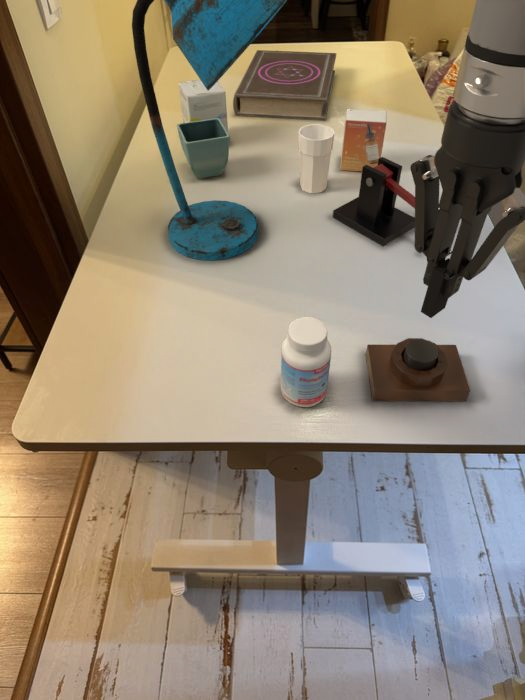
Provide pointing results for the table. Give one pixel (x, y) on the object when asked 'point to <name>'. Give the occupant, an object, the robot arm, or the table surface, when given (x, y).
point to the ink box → (202, 102)
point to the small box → (362, 139)
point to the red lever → (397, 186)
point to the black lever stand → (376, 206)
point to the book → (286, 85)
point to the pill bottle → (305, 362)
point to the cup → (315, 156)
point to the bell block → (415, 375)
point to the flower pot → (205, 146)
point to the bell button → (420, 355)
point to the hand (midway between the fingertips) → (432, 309)
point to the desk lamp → (210, 65)
